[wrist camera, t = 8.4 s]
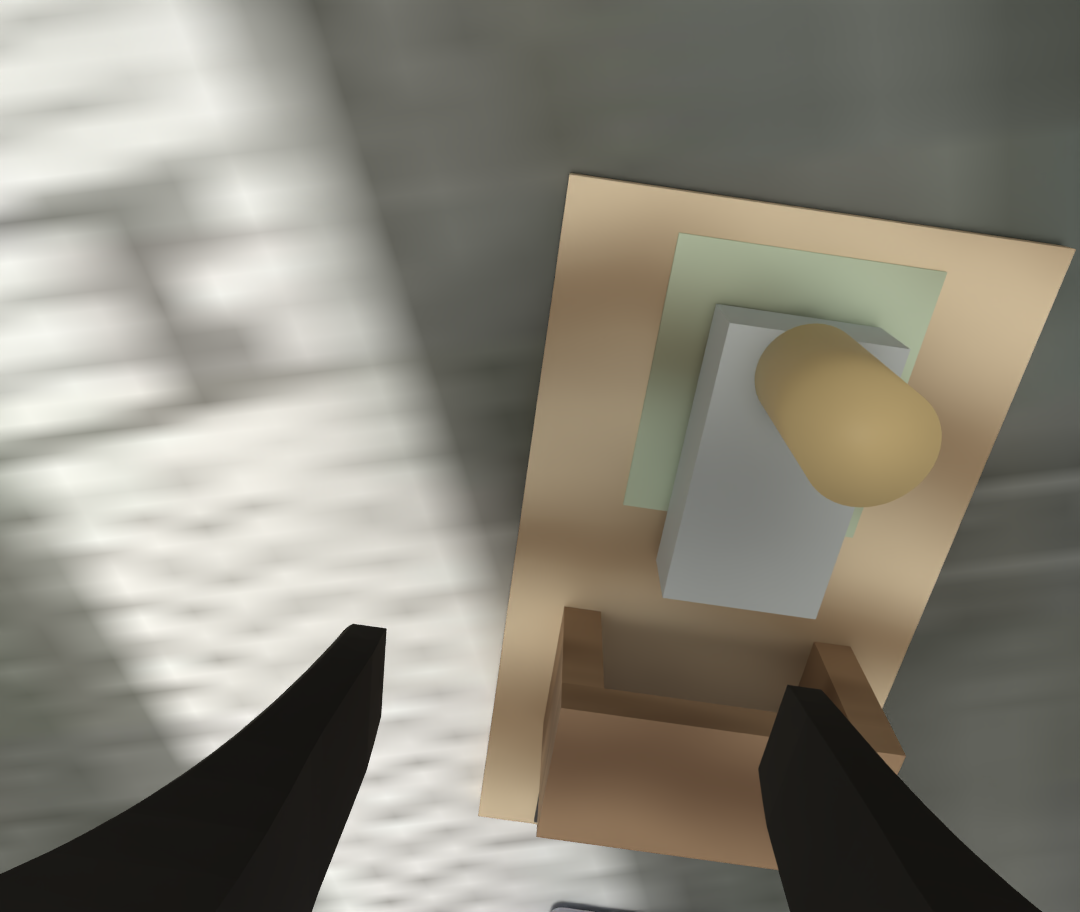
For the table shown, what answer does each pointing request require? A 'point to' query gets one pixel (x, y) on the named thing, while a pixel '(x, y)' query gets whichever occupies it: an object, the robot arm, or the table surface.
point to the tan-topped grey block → (787, 457)
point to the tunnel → (672, 756)
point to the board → (662, 418)
